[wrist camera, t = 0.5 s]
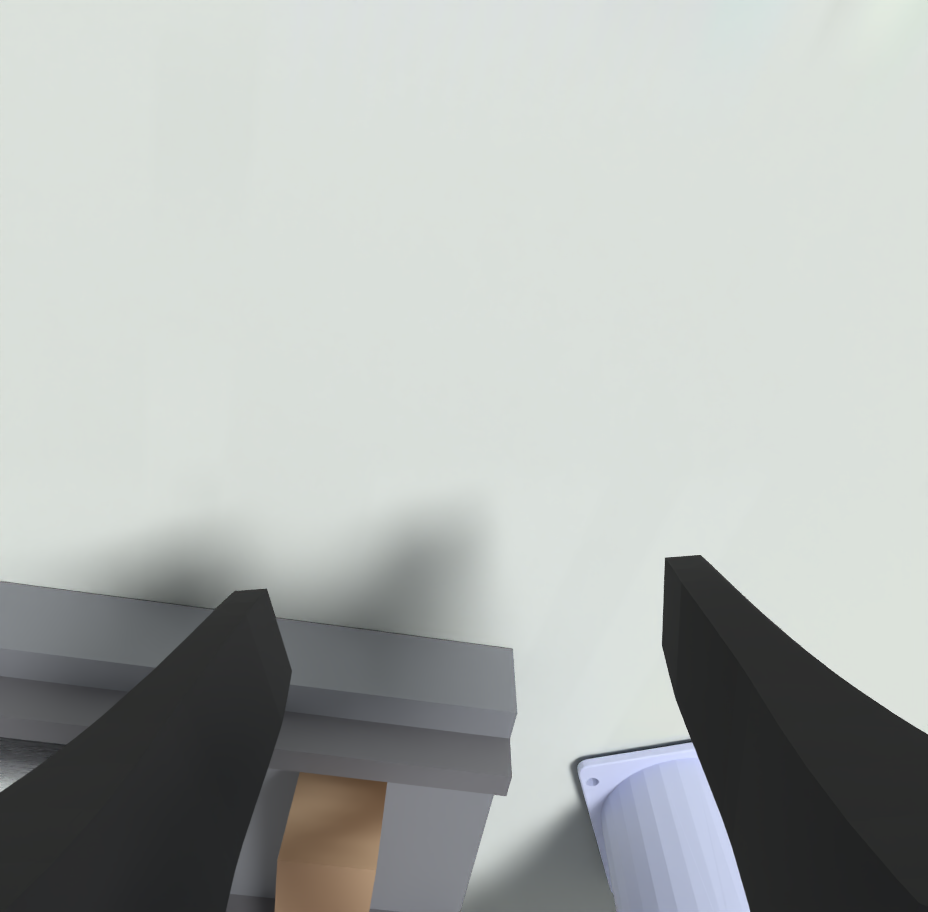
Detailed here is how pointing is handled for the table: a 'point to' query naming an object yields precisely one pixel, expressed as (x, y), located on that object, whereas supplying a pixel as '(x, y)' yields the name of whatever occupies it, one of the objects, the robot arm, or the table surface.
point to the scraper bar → (330, 845)
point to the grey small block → (22, 758)
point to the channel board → (297, 726)
